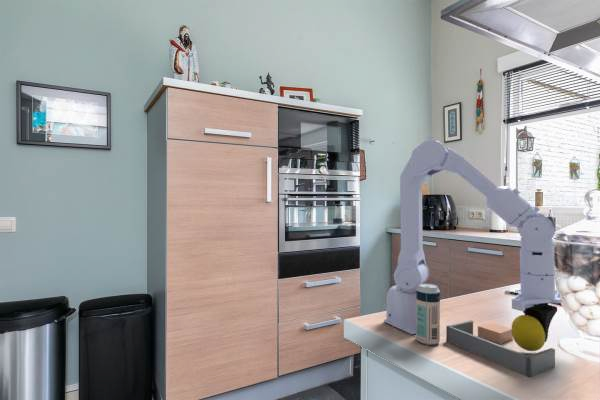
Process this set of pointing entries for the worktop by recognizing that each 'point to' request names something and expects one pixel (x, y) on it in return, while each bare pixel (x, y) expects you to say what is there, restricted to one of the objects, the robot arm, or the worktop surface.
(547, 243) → the robot arm
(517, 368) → the fence
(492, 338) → the tile
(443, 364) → the worktop surface
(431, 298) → the beer can
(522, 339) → the lemon
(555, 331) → the worktop surface
